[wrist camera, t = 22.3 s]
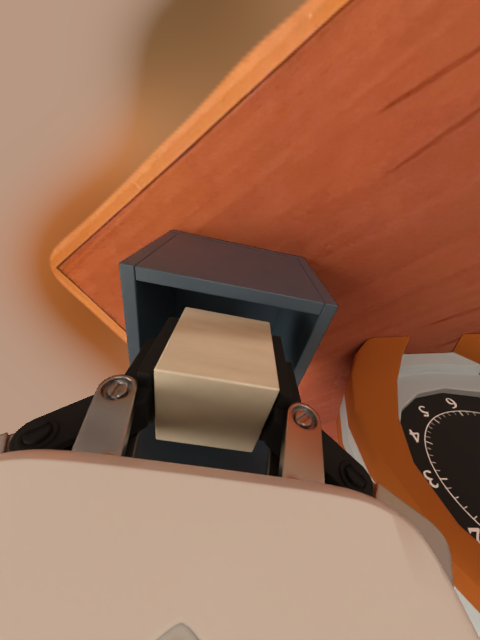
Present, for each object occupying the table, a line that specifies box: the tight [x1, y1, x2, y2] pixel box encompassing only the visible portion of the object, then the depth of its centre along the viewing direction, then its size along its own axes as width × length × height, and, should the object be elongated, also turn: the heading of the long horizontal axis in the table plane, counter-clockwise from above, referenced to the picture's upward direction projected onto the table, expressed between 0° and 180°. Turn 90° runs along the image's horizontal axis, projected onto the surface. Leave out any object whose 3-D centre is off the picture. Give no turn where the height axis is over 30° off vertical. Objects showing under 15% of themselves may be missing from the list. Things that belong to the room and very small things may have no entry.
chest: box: [119, 230, 338, 387], centre depth 18 cm, size 13×12×9 cm
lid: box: [136, 421, 269, 475], centre depth 11 cm, size 13×12×5 cm
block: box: [154, 307, 280, 452], centre depth 10 cm, size 4×4×4 cm
